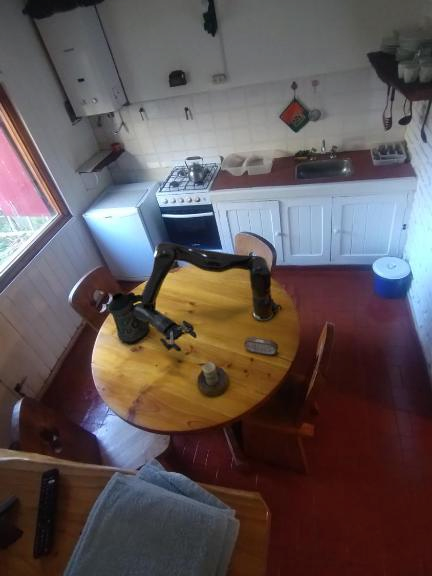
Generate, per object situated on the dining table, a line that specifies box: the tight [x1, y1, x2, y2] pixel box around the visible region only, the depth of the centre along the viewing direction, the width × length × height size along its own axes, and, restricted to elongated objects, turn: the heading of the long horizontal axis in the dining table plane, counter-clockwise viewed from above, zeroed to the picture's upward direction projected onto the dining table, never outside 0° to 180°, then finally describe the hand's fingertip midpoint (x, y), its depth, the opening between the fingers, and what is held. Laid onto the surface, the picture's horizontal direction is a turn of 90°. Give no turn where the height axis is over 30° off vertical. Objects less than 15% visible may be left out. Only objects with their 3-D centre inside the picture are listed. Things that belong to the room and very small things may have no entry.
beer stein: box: [107, 292, 151, 346], centre depth 170 cm, size 16×19×25 cm
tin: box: [243, 336, 279, 356], centre depth 153 cm, size 15×3×8 cm, turn 71°
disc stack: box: [202, 361, 219, 386], centre depth 142 cm, size 5×5×9 cm
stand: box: [197, 365, 229, 397], centre depth 145 cm, size 12×12×4 cm
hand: (188, 343), depth 142 cm, fingers open, 8 cm apart
